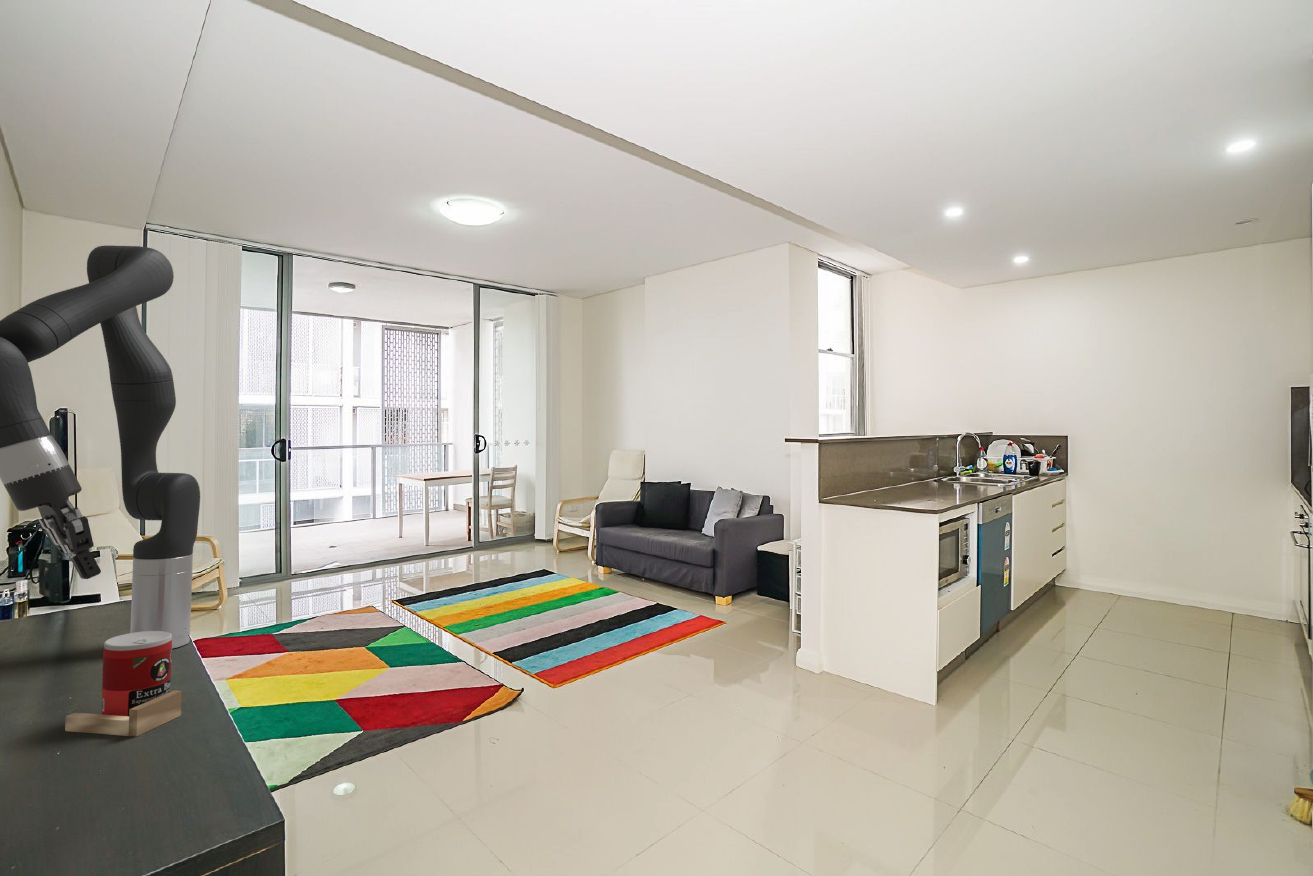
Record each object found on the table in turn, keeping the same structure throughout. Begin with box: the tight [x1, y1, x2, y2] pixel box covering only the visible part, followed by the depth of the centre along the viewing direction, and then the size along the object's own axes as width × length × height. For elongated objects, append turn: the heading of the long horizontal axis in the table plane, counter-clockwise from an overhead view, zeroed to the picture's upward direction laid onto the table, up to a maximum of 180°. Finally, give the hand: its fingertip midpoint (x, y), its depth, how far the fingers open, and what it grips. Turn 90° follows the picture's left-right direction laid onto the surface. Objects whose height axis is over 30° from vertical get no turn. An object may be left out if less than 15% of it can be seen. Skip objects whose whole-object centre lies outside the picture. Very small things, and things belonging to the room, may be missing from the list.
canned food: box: [100, 631, 173, 717], centre depth 93 cm, size 8×8×11 cm
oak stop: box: [64, 689, 183, 738], centre depth 90 cm, size 11×7×4 cm, turn 83°
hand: (91, 576), depth 99 cm, fingers closed
